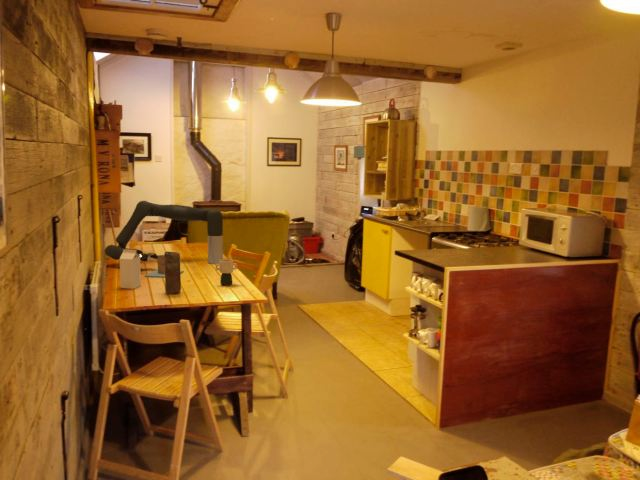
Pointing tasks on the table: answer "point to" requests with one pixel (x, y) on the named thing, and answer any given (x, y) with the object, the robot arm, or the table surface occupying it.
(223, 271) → the character mug
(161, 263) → the walnut block
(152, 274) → the slate-blue mat
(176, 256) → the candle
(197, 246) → the table surface
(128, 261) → the milk carton
